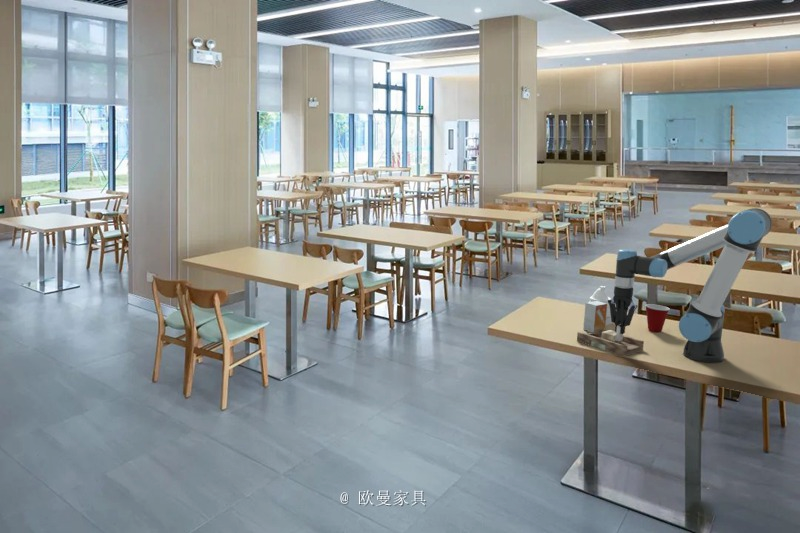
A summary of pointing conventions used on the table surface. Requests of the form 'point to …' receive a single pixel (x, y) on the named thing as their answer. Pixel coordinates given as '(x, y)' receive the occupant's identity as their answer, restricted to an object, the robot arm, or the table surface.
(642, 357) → the table surface
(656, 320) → the plastic cup
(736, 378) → the table surface
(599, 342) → the wooden tray
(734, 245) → the robot arm
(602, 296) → the white piece
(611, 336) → the block
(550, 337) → the table surface
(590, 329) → the small box
